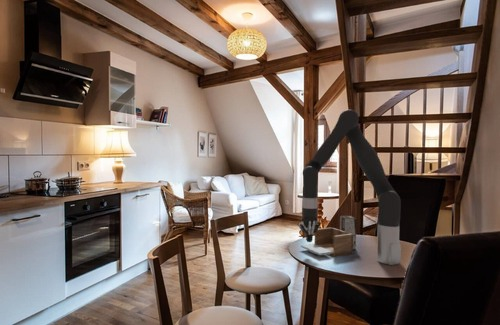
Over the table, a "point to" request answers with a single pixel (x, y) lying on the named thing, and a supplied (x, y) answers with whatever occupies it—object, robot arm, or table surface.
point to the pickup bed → (335, 241)
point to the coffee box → (349, 226)
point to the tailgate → (316, 249)
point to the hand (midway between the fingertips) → (309, 241)
